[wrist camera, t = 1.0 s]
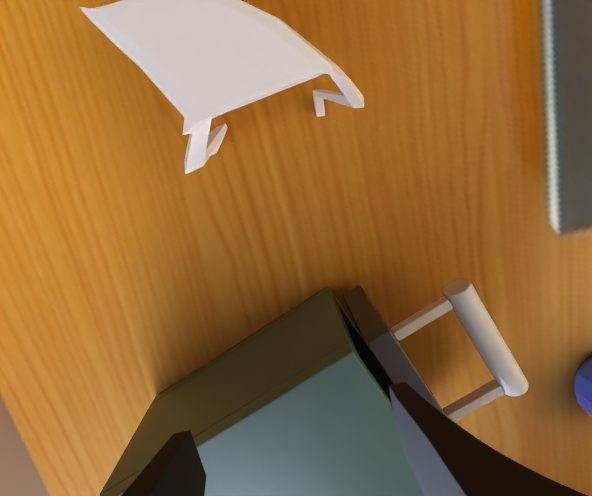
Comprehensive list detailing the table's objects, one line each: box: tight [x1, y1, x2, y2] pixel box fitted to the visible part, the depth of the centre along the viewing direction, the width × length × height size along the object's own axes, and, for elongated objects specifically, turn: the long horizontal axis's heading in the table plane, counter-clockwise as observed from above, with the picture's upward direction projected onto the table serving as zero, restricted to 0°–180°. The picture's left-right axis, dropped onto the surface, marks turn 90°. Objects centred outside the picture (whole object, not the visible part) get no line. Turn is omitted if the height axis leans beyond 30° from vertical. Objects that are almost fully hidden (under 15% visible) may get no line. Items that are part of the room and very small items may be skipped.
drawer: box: [343, 279, 528, 422], centre depth 19 cm, size 17×10×6 cm, turn 124°
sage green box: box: [100, 287, 424, 496], centre depth 19 cm, size 14×12×8 cm
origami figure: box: [79, 0, 364, 174], centre depth 16 cm, size 12×8×5 cm
